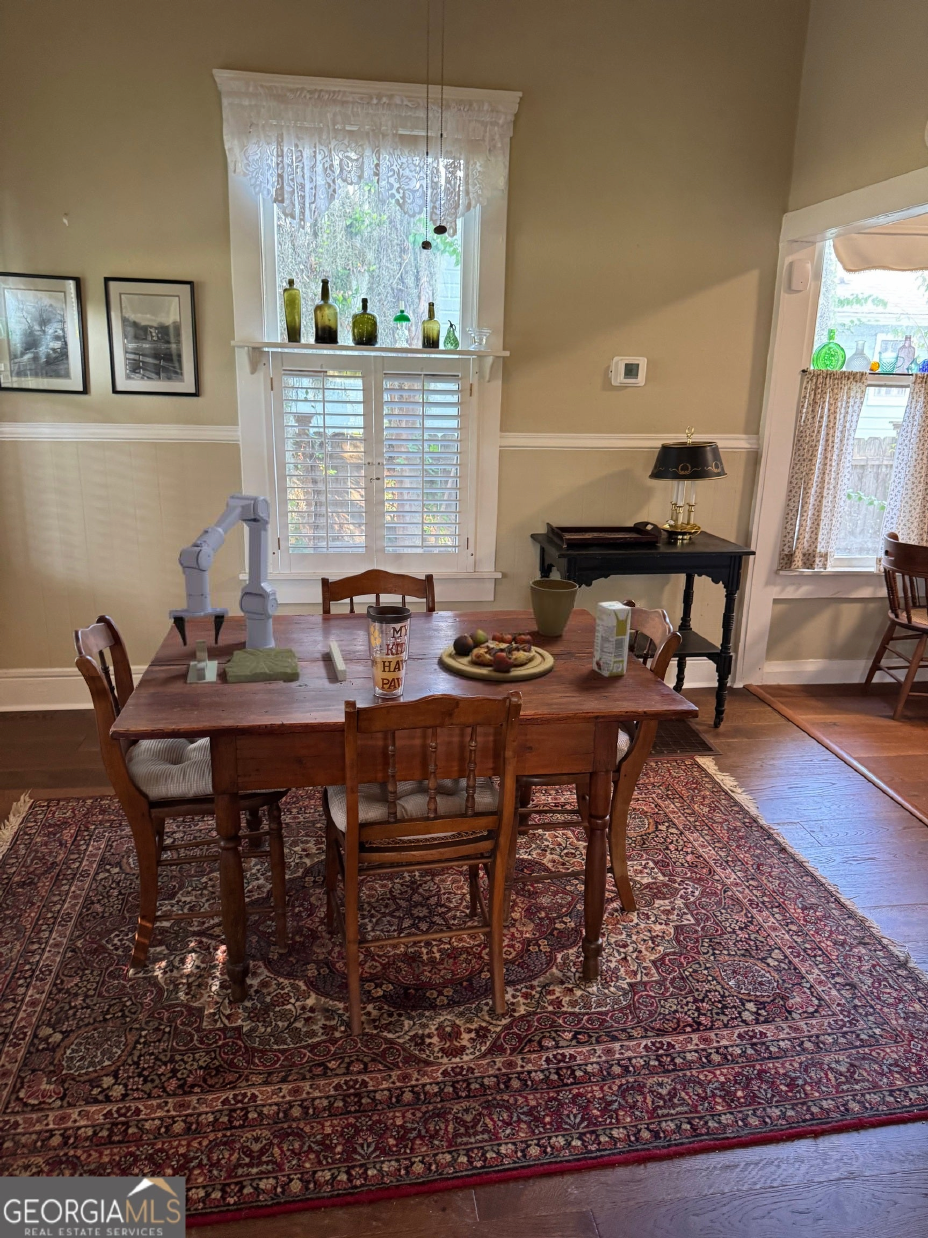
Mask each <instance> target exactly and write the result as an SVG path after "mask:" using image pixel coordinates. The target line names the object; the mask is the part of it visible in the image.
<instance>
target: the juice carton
mask: <svg viewBox="0 0 928 1238" xmlns="http://www.w3.org/2000/svg"><path fill="white" fill-rule="evenodd" d="M631 615H632V607H630V606H627V605H624V604H623V603H621V602H619V601H618V600H617V601H616V600H615V601H604V602H598V603H597V608H596V619H595V630H594V645H593V654H592V655H593V657H592V658H593V659H592V668H593V670H594V671H596V672H598V673H600V674H601V675H603V676H604V677H615V676H617V677H618V676H624V675H626V670H627V663H628V662H627V661H628V651H629V649H628V648H629V642H630V640H629V639H630V629H631V620H632V619H631V618H632V616H631Z"/></svg>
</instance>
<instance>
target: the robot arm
mask: <svg viewBox="0 0 928 1238" xmlns="http://www.w3.org/2000/svg"><path fill="white" fill-rule="evenodd" d="M225 504H226V508H225V509H224V512H222V514H221V515H220V517H219V518H218V519H217V521H216V523H215V524H214V525H213V526H207V527H205V528H204V529H203V531H202V532H201V533H200V535H199V536H198V537H197V538H196V539H195V540H194V542H193V543H192V544H190V545H188V546H185V547H184V548H182V549H181V550H180V552H179V554H178V555H179V556H178V558H177V560H178V564H179V566H180V567H181V570H182V575H183V576H184V583H185V597H186V608H179V609H169V610H168V619H169V620H173V624H174V627H175V628H176V629H177V631H178V633H179V635H180V638H181V641H182V644H183V647H187V645H188V640H187V638H188V637H187V632H186V619H188V618H189V619H191V618H192V619H193V618H213V624H214V625H213V627H214V645H215V646H216V645H218V644H219V636H220V632H221V629H222V627H223V625H224V622H225V618H229V617H230V615H229V607H213V606H212V607H211V596H210V595H211V593H210V579H209V578H210V577H209V569H210V568H211V567H212V565H213V563H214V562H213V561H214V558H215V556H216V553H217V552H218V550H219V549H220V548H221V547H222V546H223V544H225V541H226V537H225V535H226V534H227V533H228V532H229V531H230V530H231V529H233V527H234V526H235V525H236V524H237V523H238V522H240V521H241V522H243V523H244V525H246V526H247V528H248V580H247V581H248V583H246V584H245V585H244V586H243V587H241V589H240V591H241V592H240V597H239V600H238V607H239V609H240V612H241V613H242V614H243V617H245V619H246V620H245V623H246V624H245V625H246V639H245V649H260V648H262V649H264V648H276V646H275V637H273V636H274V634H273V633H274V631H273V617H274V616H275V614H276V612H277V611H278V608H279V601H278V598H277V590H276V589H275V587H273V586H272V585H270V584H269V582H268V581H269V580H268V575H269V571H268V570H269V565H268V564H269V525H270V524H271V503H270V502H269V500H268V499H267V497H266V496H265V495H254V494H253V495H251V494H242V493H240V494H239V493H232V494H231V495H230V496H229V498H228V499H227V500H226V503H225Z"/></svg>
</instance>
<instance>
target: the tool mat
mask: <svg viewBox="0 0 928 1238" xmlns="http://www.w3.org/2000/svg"><path fill="white" fill-rule="evenodd" d="M197 663H198V661H190V662H189V668H188V673H187V678H186V679H187V680H186V684H188V683H189V684H191V683H204V682H205V683H206V682H216V680H217V670H218V660H208V665H207V673H206V680H200V681H197Z"/></svg>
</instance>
